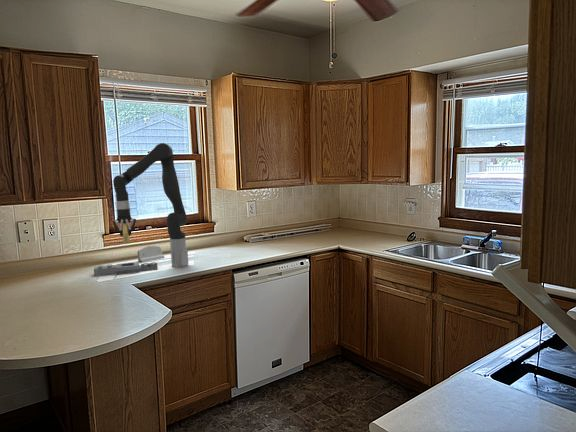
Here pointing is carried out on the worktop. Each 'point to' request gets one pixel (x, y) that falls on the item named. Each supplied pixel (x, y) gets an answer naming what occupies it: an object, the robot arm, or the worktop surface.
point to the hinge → (150, 253)
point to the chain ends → (124, 268)
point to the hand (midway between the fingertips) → (125, 235)
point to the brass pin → (125, 233)
